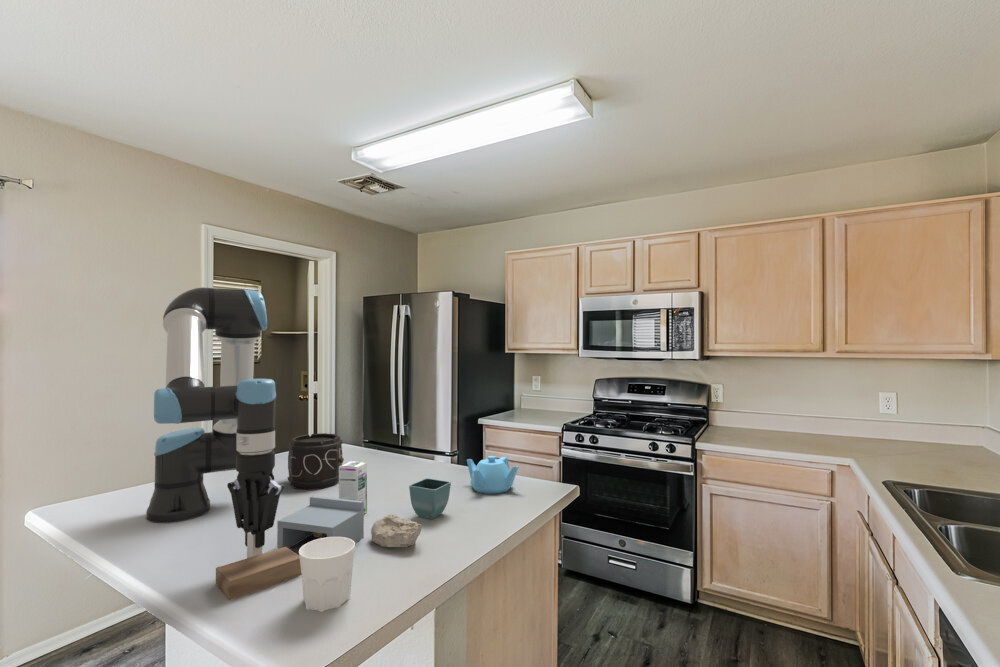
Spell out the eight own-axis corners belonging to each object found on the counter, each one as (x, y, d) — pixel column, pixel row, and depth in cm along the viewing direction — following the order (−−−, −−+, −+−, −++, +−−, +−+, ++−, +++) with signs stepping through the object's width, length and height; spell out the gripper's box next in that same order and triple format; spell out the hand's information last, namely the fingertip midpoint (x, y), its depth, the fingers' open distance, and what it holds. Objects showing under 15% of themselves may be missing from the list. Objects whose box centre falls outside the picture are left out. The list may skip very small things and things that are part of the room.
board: (215, 588, 98) (215, 567, 98) (285, 564, 108) (285, 546, 108) (229, 602, 92) (230, 581, 92) (302, 576, 103) (302, 557, 103)
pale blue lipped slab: (277, 550, 114) (277, 512, 114) (312, 530, 126) (312, 495, 126) (332, 559, 110) (332, 518, 110) (363, 537, 122) (363, 501, 122)
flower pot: (451, 512, 140) (451, 481, 140) (435, 523, 132) (435, 489, 132) (425, 508, 144) (425, 477, 144) (408, 518, 136) (408, 485, 136)
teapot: (519, 494, 157) (519, 460, 157) (473, 497, 154) (473, 463, 154) (508, 481, 172) (508, 450, 172) (466, 483, 169) (466, 452, 169)
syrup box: (357, 519, 134) (358, 466, 135) (338, 517, 136) (338, 465, 136) (367, 512, 140) (367, 461, 140) (348, 510, 141) (348, 460, 141)
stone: (392, 569, 113) (408, 534, 111) (359, 533, 119) (374, 500, 116) (414, 557, 119) (430, 525, 117) (381, 524, 125) (396, 492, 123)
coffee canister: (333, 491, 160) (333, 442, 160) (278, 490, 160) (279, 442, 161) (350, 475, 178) (350, 432, 178) (301, 475, 178) (302, 432, 179)
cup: (321, 583, 99) (321, 534, 99) (364, 590, 96) (365, 540, 96) (286, 609, 89) (287, 554, 89) (333, 618, 86) (334, 562, 86)
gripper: (217, 452, 103) (215, 565, 103) (267, 457, 100) (266, 573, 99) (244, 445, 110) (243, 550, 110) (293, 449, 107) (292, 558, 106)
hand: (254, 561), depth 105 cm, fingers closed
